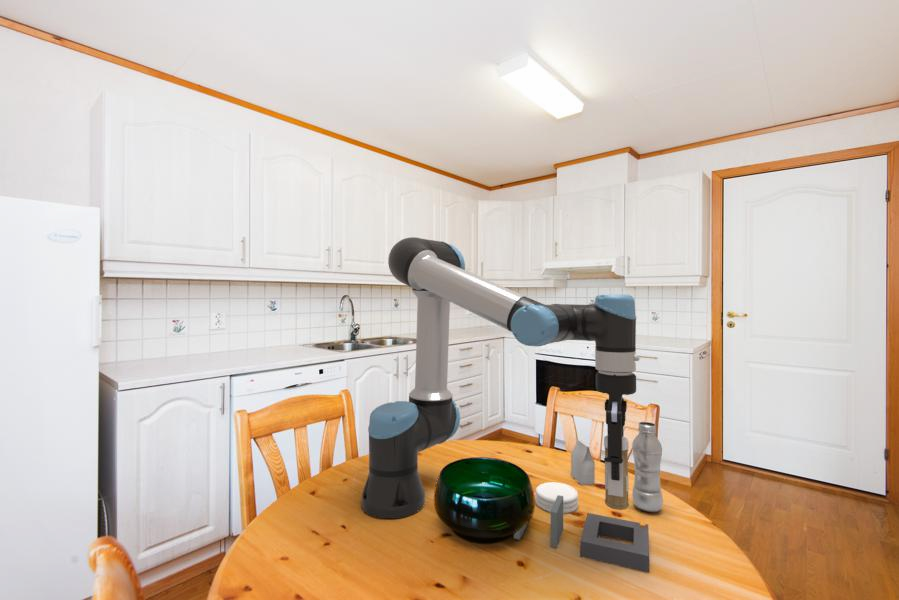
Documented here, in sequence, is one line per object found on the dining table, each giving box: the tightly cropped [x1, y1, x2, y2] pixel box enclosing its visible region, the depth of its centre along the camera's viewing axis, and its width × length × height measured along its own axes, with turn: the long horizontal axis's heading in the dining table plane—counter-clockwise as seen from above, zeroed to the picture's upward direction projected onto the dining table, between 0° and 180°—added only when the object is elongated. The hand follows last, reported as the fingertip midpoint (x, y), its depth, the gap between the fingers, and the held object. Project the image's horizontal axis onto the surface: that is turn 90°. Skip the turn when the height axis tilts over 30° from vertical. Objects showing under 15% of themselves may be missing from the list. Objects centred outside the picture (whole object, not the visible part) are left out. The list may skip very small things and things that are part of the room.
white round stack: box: [535, 481, 579, 515], centre depth 104 cm, size 10×10×4 cm
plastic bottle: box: [631, 421, 664, 513], centre depth 101 cm, size 6×7×20 cm
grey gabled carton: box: [570, 439, 596, 486], centre depth 118 cm, size 4×7×10 cm, turn 7°
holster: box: [513, 495, 564, 549], centre depth 91 cm, size 9×8×7 cm
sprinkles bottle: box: [603, 434, 630, 511], centre depth 85 cm, size 5×5×14 cm
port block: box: [579, 512, 650, 574], centre depth 86 cm, size 12×12×3 cm
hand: (616, 489), depth 85 cm, fingers closed on sprinkles bottle, 4 cm apart
